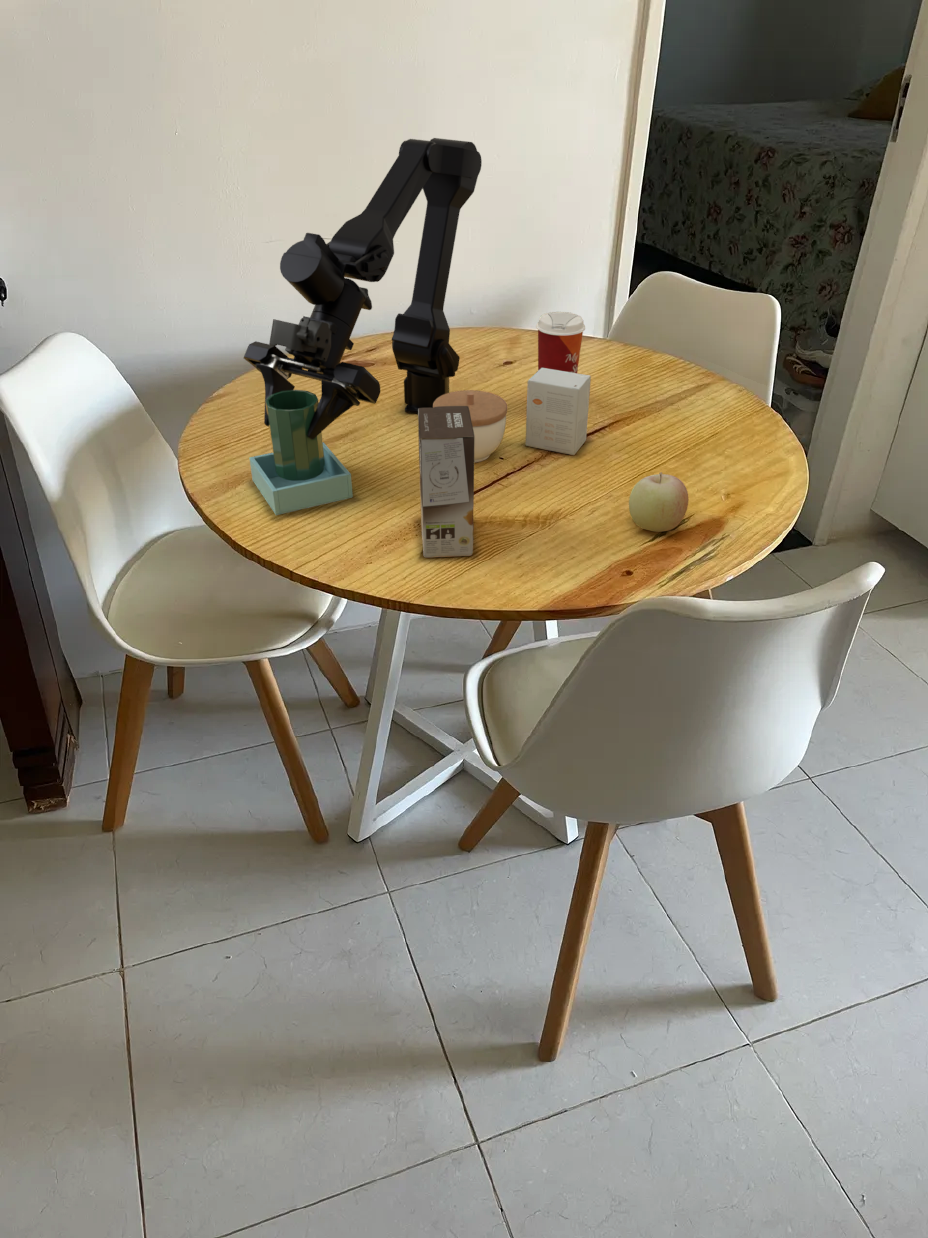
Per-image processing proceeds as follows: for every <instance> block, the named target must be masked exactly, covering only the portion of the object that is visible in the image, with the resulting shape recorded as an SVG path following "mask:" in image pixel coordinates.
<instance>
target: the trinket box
mask: <svg viewBox="0 0 928 1238" xmlns="http://www.w3.org/2000/svg"><path fill="white" fill-rule="evenodd" d="M438 406H468V407H469V411H470V416H471V421H472V426H473V431H474V436H475V440H474V464H475V463H480V462H483V461H485V460H488V458H490V456H491V454H493V453H494V452H495V451H496V450H497V449H498V448H499V446H500V445H501V443H502V441H503V440H504V439H503V438H504V435H505V431H506V426H507V415H508V409H509V408H508V403H507V401H506V400H505V399H504V398H503V397H502V396H500V395H498V394H495V393H493V392H489V391H484V390H479V389H477V390H475V389H464V390H454V391H451V392H450V391H449V393H447V394H444V395H442V396H440V397H438V398H437V399H436V400H435V402H434V403H433V408H434V407H438Z"/></svg>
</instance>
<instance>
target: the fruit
mask: <svg viewBox="0 0 928 1238" xmlns="http://www.w3.org/2000/svg"><path fill="white" fill-rule="evenodd" d="M688 506H689V491H688V489H687V486H686V485H685V483H684V482H683V481H682V479H680V478H679V477H677V476H674V475H672V474H665V473H663V472H662V471H661V472H659V473H658V474H651V475H647V476H645V477H643V478H641V479H639V480H638V481H637V482H636V483H635V484H634V486H633V488H632V489H631V491H630V494H629V497H628V511H629V515H630V518H631V519H632V521H633V522H634V524H635V525H636V526H638V527H639V528H641V529H642V530H646V531H651V532H655V533H662V532H669V531H671V530H673V529H675V528H676V527H678V526H679V525H680V523H681V522H682V521H683V520H684V518H685V516H686V513H687V512H688V511H687V510H688V508H689V507H688Z"/></svg>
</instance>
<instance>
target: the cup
mask: <svg viewBox="0 0 928 1238" xmlns="http://www.w3.org/2000/svg"><path fill="white" fill-rule="evenodd" d="M265 402H266V410H267V417H268V424H269V427H268V430H269V431H268V432H269V438H270V446H271V453H273V461H274V467H275V472H276V474H277V475H278V476H279V477H281V478H283V479H286V480H291V481H302V480H308V479H312V478H314V477H317V476H318V475H320V474H321V473H322V472H323V471H324V466H325V462H324V452H323V442H324V441H323V433H322V432H323V431H322V432H321V433H320V434H319V435H318V436H316V437H315V438H314V439H310V438H309V437H308V436H307V434H308V431H309V427H310V424H311V421H312V419H313V416H314V414H315V411H316V409H317V406H318V404H319V398H318V396H317V394H316V393H314V392H312V391H308V390H305V389H304V390H303V389H293V390H287V391H280V392H278V393H275V394H272V395H270V396H269V397H268V398H267V399H266V401H265V400H264V403H265Z"/></svg>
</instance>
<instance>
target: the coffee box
mask: <svg viewBox="0 0 928 1238" xmlns="http://www.w3.org/2000/svg"><path fill="white" fill-rule="evenodd" d="M417 426H418V427H417V428H418V429H417V430H418V431H417V432H418V433H417V434H418V468H419V470H418V471H419V474H418V475H419V501H420V503H419V504H420V525H421V539H422V541H421V542H422V553H423V557H424V558H446V557H447V558H448V557H449V558H450V557H470V556H473V553H474V509H475V508H474V507H475V506H474V505H475V502H474V501H475V463H474V440H475V436H474V431H473V426H472V421H471V416H470V411H469V407H468V406H438V407H434V408H419V409H418V413H417Z"/></svg>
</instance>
